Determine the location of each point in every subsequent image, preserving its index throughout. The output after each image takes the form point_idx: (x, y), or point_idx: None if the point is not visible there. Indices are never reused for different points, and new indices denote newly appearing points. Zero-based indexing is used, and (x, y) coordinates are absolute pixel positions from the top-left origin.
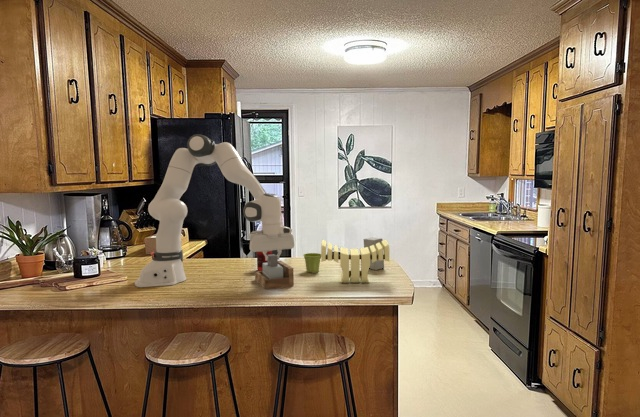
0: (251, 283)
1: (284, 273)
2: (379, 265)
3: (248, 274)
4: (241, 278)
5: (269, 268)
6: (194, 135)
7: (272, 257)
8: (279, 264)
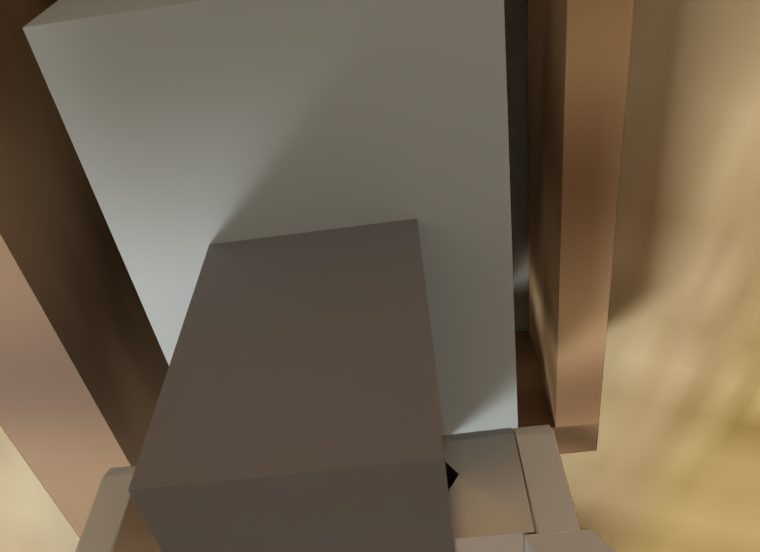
0: (681, 209)
1: None
2: None
3: None
4: (699, 447)
5: (502, 44)
6: None
7: (357, 446)
8: None
